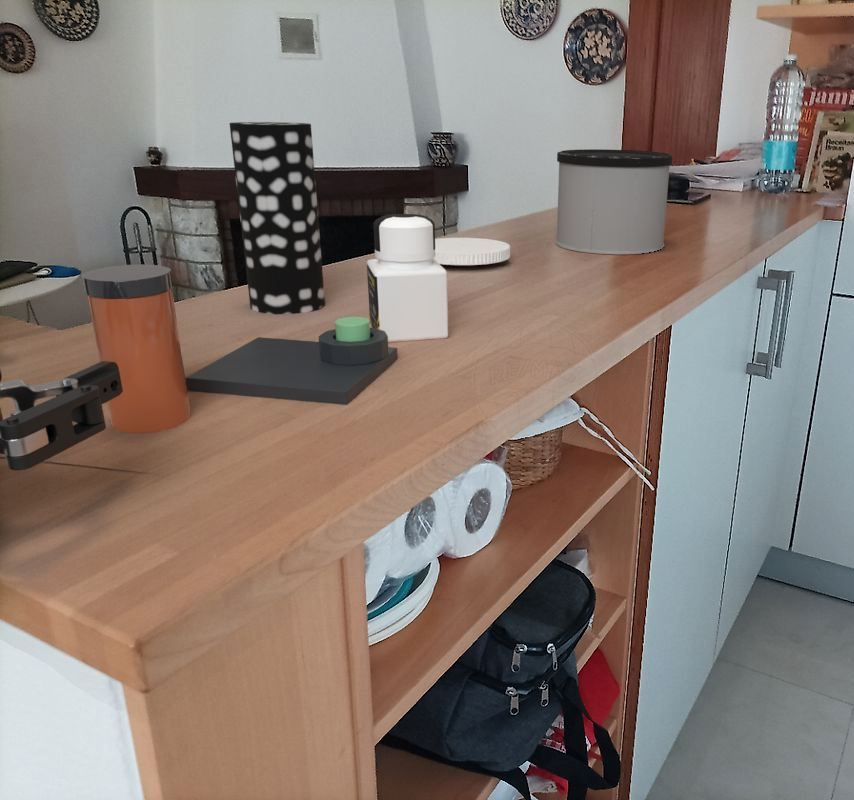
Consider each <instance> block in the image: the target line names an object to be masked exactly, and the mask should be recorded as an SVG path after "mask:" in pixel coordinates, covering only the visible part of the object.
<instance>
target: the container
mask: <svg viewBox="0 0 854 800" xmlns="http://www.w3.org/2000/svg"><path fill="white" fill-rule="evenodd" d="M556 153H557V154H556V162H557V163H558V185H557V186H558V187H557V188H558V189H557V190H558V191H557V222H556V224H557V226H556V239H555V244H556V245H557V247H560V248H562V249H565V250H569V251H574V252H579V253H585V254H586V253H587V254H595V255H596V254H597V255H617V256H619V255H621V256H624V255H625V256H626V255H627V256H628V255H642V253H644V254H650V253H649V252H651V253H655V252H654V251H656V252H658V251H657V250H659V251H661V250H660V249H662V248H663V247H664V248H665V240H664V239H665V231H666V230H665V229H666V217H667V216H666V215H667V204H668V203H667V202H668V191H669V190H668V189H669V180H670V178H669V177H670V167H671V165H673V157H674V155H672V154H670V153H667V152H658V151H648V150H633V149H632V150H631V149H601V148H599V149H597V148H596V149H594V148H592V149H566V150H560V151H557V152H556ZM664 248H663V249H664ZM663 249H662V250H663Z"/></svg>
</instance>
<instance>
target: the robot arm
mask: <svg viewBox="0 0 854 800" xmlns="http://www.w3.org/2000/svg"><path fill="white" fill-rule="evenodd" d="M2 379H3V375H2V370H1V369H0V400H1V399H5V398H9V399H12V400H13V404H14V409H15V410H14V411H12V412H11V413H10V416H8V417H6V418H4V417H3V412H2V408H1V407H0V455H4V456H5V457H6V461H7V465H8V469H9V470H11V471H13V472H14V471H19V472H20V471H26V470H29V469H31V468H34V467H36V466H37V465H39V464H41V463H44V462H45V461H47V460H49V459H51V458H53V457H55V456H57V455H59V454H61V453H62V452H65V451H66V450H69V449H71V448H72V447H74V446H76V445H78V444H80V443H82V442H84V441H86V440H88V439H89V438H91V437H93V436H95V435H97V434H100V433H101V432H103V431H104V430H106V429H107V424H106V420H105V413H104V409H103V404H105V403H107V402H108V401H110V400H112V399H113V398H115V397H117V396H119V395H120V394H121V393H122V392H123V389H122V384H121V378H120V373H119V368H118V365H117V363H115V362H109V361H101V362H100V361H99V362H97V363H95V364H93V365H91V366H88V367H86V368H84V369H81V370H79V371H77V372H74V373H72V374H70V375H68V376H66V377H64V378H61V379H58V380H53V381H52V380H51V381H47V382H43V383H38V384H31V385H30V384H28V383H27V382H25V380H22V379H11V380H5V381H2ZM46 398H50V399H48V400H45V401H43V402H41V403H39V404H36V405H35V403H36V402H37V401H38V400H41V399H42V400H43V399H46Z"/></svg>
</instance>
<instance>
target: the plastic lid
mask: <svg viewBox="0 0 854 800" xmlns="http://www.w3.org/2000/svg"><path fill="white" fill-rule="evenodd" d="M510 258H511V245H510V244H509V243H507V242H505V241H501V240H497V239H490V238H482V237H481V238H479V237H445V238H444V237H442V238H435V257H434V259H435V260H436V261H437V262H438V263H439V264H440V265H446V266H449V265H450V266H478V265H480V266H481V265H482V266H483V265H490V264H497V263H502V262H505V261H507V260H509V259H510Z"/></svg>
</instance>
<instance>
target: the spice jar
mask: <svg viewBox="0 0 854 800" xmlns="http://www.w3.org/2000/svg"><path fill="white" fill-rule="evenodd" d="M81 280H82V285H83V290H84V294H85V295H86V297H87V303H88V307H89V312H90V319H91V323H92V328H93V335H94V340H95V344H96V350H97V355H98V360H99V362H101V361H109V362H115V363H117V365H118V368H119V373H120V378H121V384H122V389H123V392H122V393H121V394H120V395H119V396H117V397H115V398H113V399H112V400H110V401H108V402H106V403H107V407H108V413H109V418H110V424H111V427H112V428H113V429H114V430H115V431H117V432H121V433H125V434H150V433H158V432H163V431H166V430H169V429H173V428H176V427H178V426H180V425H182V424H184V423H186V422H187V421H188V420H189V419H190V418H191V415H192V412H191V411H192V410H191V405H190V399H189V393H188V392H189V391H187V385H186V372H185V364H184V358H183V351H182V345H181V338H180V332H179V325H178V317H177V311H176V305H175V298H174V291H173V288H174V282H173V275H172V270H171V268H169V267H167V266H164V265H159V264H158V265H157V264H122V265H113V266H105V267H100V268H94V269H92V270H88V271H85V272H84V273H83V274H82V275H81Z"/></svg>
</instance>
